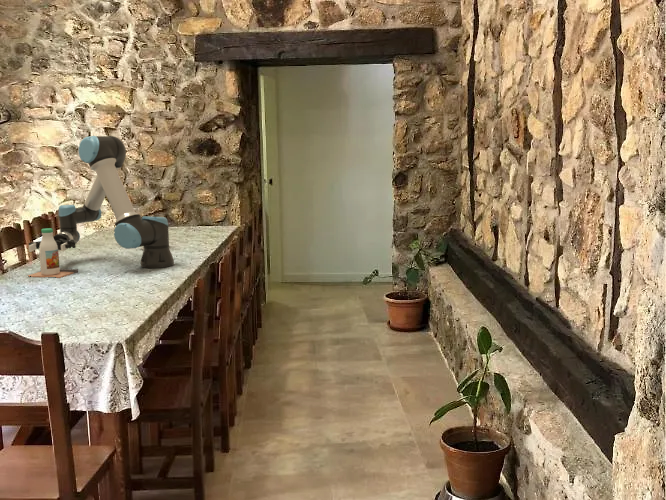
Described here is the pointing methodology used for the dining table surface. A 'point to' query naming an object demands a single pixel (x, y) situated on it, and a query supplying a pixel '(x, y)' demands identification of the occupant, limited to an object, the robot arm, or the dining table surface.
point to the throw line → (69, 270)
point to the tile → (51, 275)
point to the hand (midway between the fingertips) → (45, 248)
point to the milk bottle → (49, 253)
